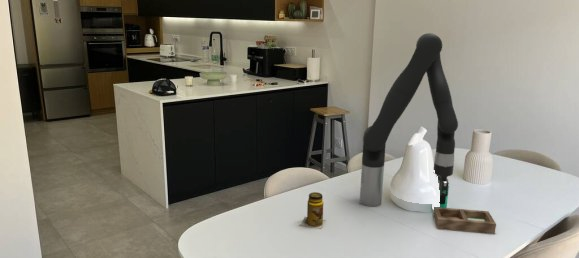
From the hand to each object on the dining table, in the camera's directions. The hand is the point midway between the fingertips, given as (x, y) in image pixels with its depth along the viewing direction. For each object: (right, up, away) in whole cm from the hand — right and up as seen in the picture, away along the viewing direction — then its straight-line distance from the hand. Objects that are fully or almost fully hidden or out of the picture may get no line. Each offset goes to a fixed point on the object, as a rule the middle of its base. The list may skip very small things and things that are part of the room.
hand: (440, 199), depth 182 cm
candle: (0, -4, +1) cm, 4 cm away
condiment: (-53, -7, -12) cm, 55 cm away
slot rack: (+4, -8, -12) cm, 15 cm away
